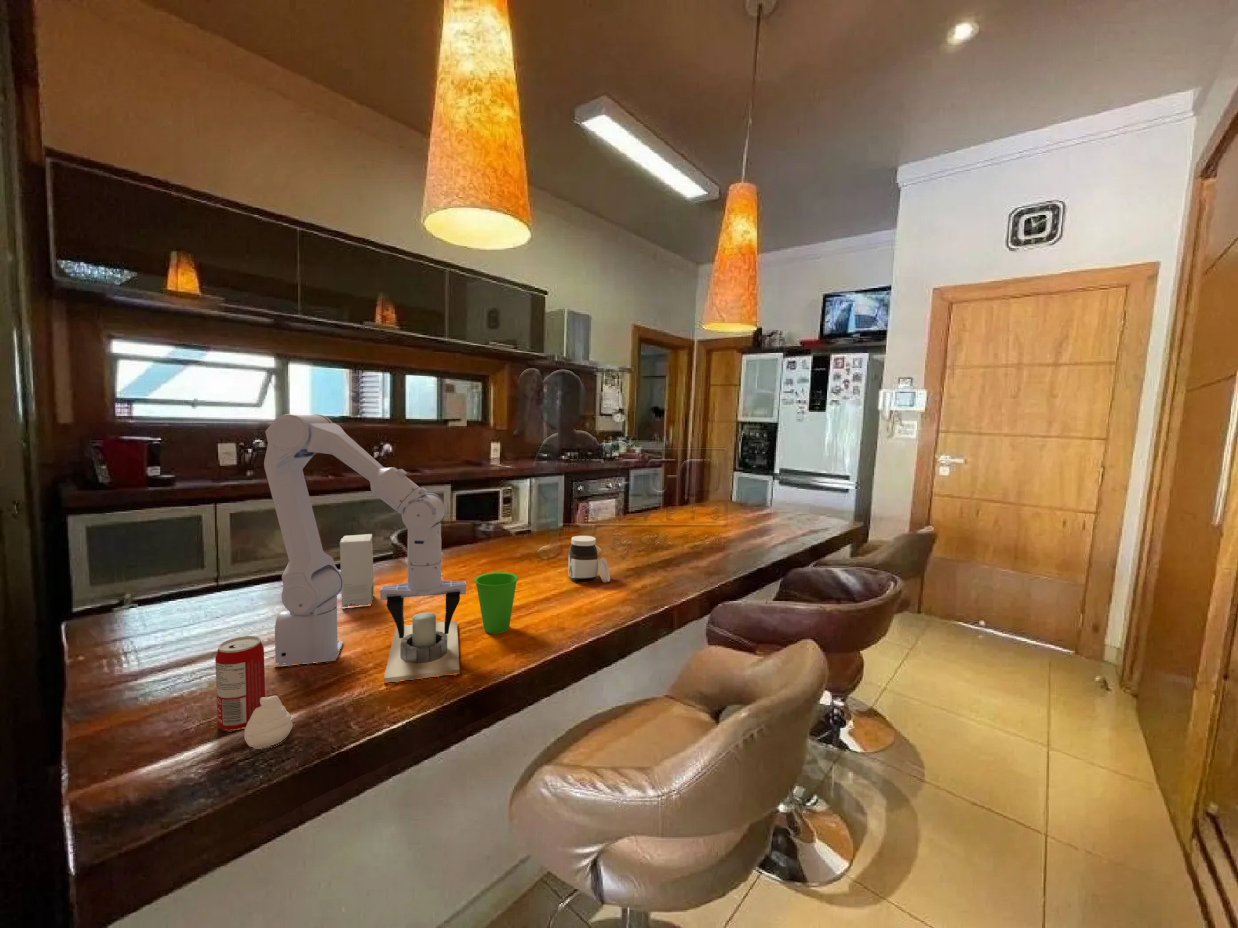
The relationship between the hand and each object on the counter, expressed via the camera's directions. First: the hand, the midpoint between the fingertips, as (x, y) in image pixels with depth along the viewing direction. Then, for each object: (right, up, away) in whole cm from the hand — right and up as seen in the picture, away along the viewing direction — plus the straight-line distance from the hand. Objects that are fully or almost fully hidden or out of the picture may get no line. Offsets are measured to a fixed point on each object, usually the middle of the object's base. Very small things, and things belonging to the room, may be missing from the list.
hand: (424, 634), depth 94 cm
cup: (+10, -4, +14) cm, 18 cm away
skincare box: (-26, -2, +26) cm, 37 cm away
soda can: (-18, -6, -20) cm, 28 cm away
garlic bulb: (-12, -7, -24) cm, 28 cm away
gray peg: (0, -4, 0) cm, 4 cm away
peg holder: (-1, -4, +3) cm, 5 cm away
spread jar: (+28, -1, +50) cm, 57 cm away
